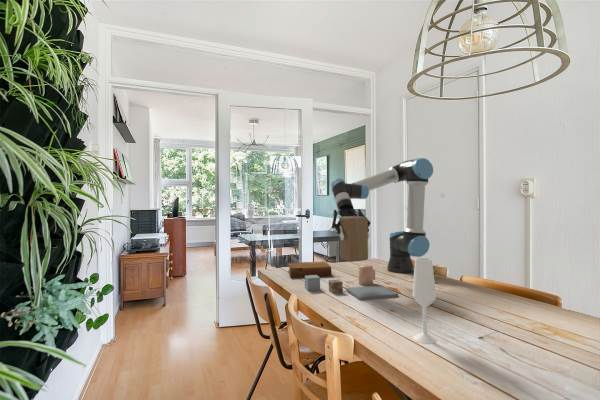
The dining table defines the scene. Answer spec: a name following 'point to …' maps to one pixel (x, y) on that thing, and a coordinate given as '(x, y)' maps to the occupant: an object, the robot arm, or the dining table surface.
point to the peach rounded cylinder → (366, 275)
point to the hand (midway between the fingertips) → (355, 238)
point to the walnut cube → (335, 286)
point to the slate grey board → (371, 292)
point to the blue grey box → (312, 282)
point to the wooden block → (354, 238)
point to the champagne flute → (424, 293)
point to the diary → (309, 269)
